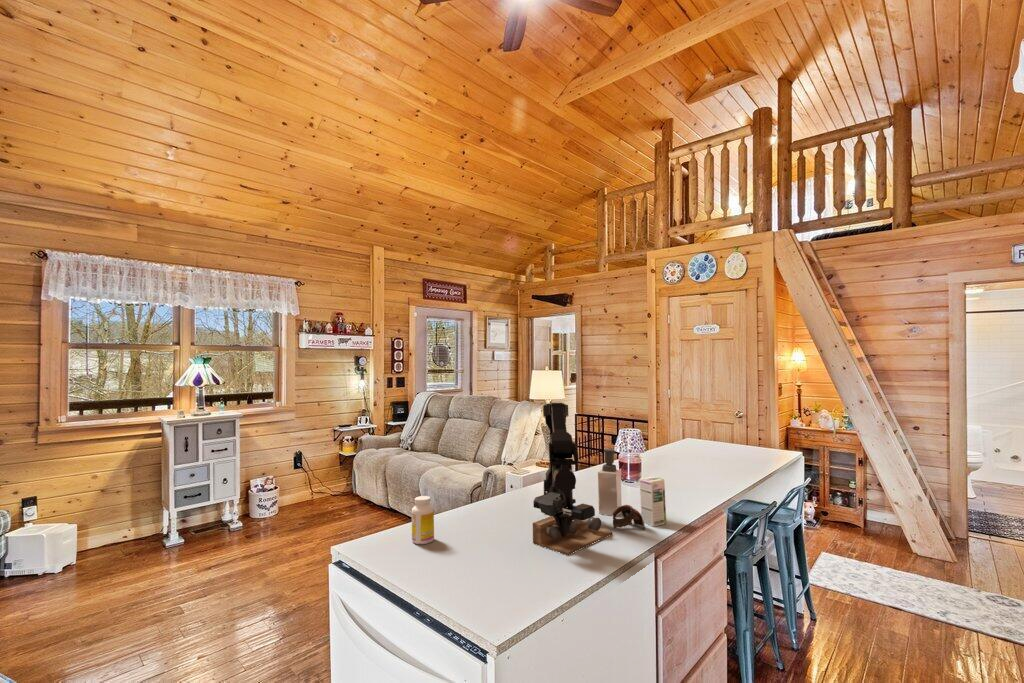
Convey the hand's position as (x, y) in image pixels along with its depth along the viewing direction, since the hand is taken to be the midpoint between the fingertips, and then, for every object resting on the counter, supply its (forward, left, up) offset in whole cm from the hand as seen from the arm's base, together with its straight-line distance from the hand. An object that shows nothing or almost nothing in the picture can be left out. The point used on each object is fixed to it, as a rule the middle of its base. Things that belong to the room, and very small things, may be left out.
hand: (563, 536), depth 137 cm
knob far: (-2, +14, -1) cm, 14 cm away
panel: (-2, +7, -3) cm, 8 cm away
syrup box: (+9, +36, -3) cm, 37 cm away
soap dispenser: (-8, +37, -3) cm, 38 cm away
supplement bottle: (-34, -25, -3) cm, 43 cm away
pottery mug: (+5, +27, -3) cm, 27 cm away
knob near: (-5, 0, -1) cm, 6 cm away
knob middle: (-5, +7, -1) cm, 9 cm away
